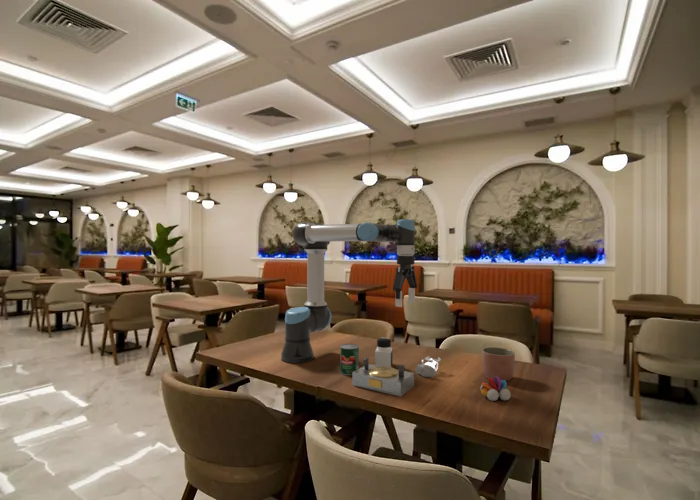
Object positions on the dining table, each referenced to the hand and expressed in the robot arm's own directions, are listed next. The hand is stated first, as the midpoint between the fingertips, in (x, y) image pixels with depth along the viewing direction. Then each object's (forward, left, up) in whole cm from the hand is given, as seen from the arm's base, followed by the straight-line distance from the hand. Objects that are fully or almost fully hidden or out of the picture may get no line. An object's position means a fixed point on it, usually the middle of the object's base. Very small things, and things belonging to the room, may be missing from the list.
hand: (405, 304), depth 160 cm
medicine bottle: (-10, 0, -28) cm, 30 cm away
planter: (+36, +11, -28) cm, 47 cm away
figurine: (+11, +1, -28) cm, 30 cm away
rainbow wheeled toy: (+39, -10, -28) cm, 49 cm away
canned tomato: (-18, -16, -28) cm, 37 cm away
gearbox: (+1, -22, -28) cm, 36 cm away
